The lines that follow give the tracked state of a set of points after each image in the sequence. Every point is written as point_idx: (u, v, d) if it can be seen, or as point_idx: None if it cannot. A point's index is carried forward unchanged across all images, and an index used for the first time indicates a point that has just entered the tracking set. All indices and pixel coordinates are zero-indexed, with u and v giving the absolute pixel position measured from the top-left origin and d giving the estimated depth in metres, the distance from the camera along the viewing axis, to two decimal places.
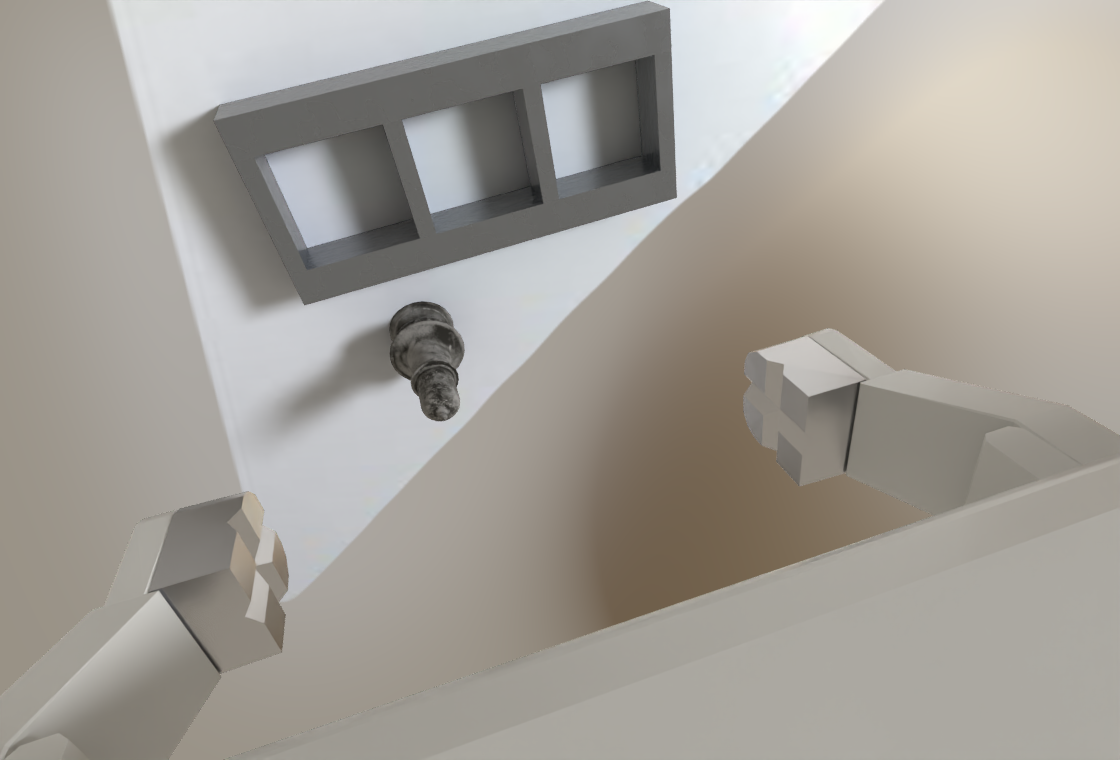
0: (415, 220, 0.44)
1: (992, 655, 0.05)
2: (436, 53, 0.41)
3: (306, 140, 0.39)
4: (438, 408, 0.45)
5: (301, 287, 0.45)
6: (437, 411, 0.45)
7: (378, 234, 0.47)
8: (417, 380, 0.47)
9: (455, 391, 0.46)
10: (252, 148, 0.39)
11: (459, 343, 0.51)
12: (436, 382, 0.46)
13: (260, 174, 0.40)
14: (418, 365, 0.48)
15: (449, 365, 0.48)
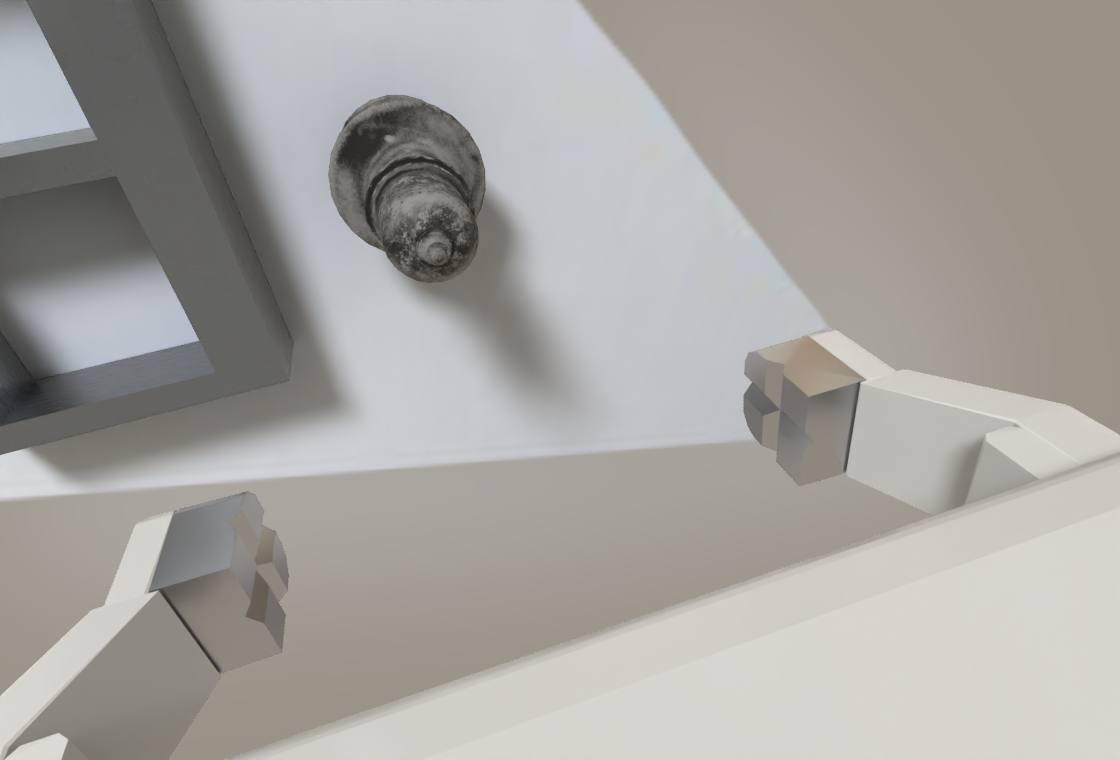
0: (70, 182, 0.21)
1: (992, 655, 0.05)
2: None
3: None
4: (423, 258, 0.19)
5: (252, 382, 0.27)
6: None
7: None
8: None
9: (401, 198, 0.19)
10: None
11: (391, 112, 0.23)
12: None
13: (31, 420, 0.25)
14: None
15: (379, 175, 0.21)
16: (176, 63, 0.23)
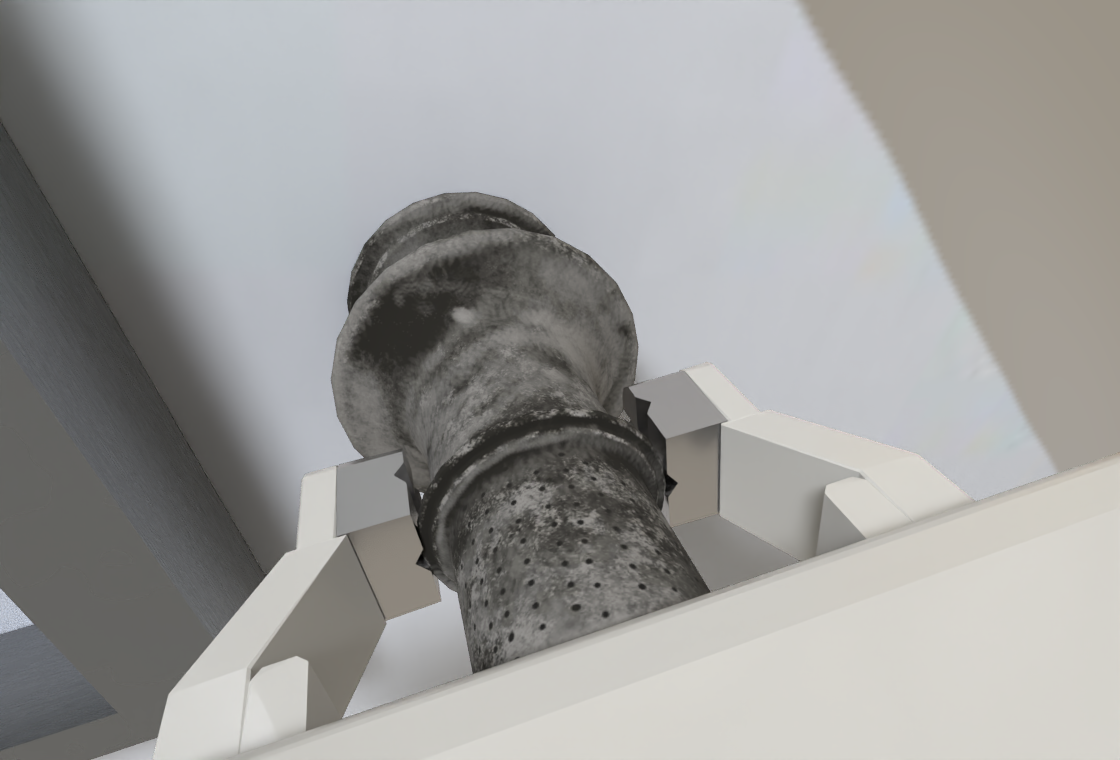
0: None
1: (992, 655, 0.05)
2: None
3: None
4: None
5: None
6: None
7: None
8: None
9: (545, 625, 0.06)
10: None
11: (465, 257, 0.11)
12: (472, 663, 0.07)
13: None
14: None
15: (457, 463, 0.08)
16: (13, 146, 0.11)
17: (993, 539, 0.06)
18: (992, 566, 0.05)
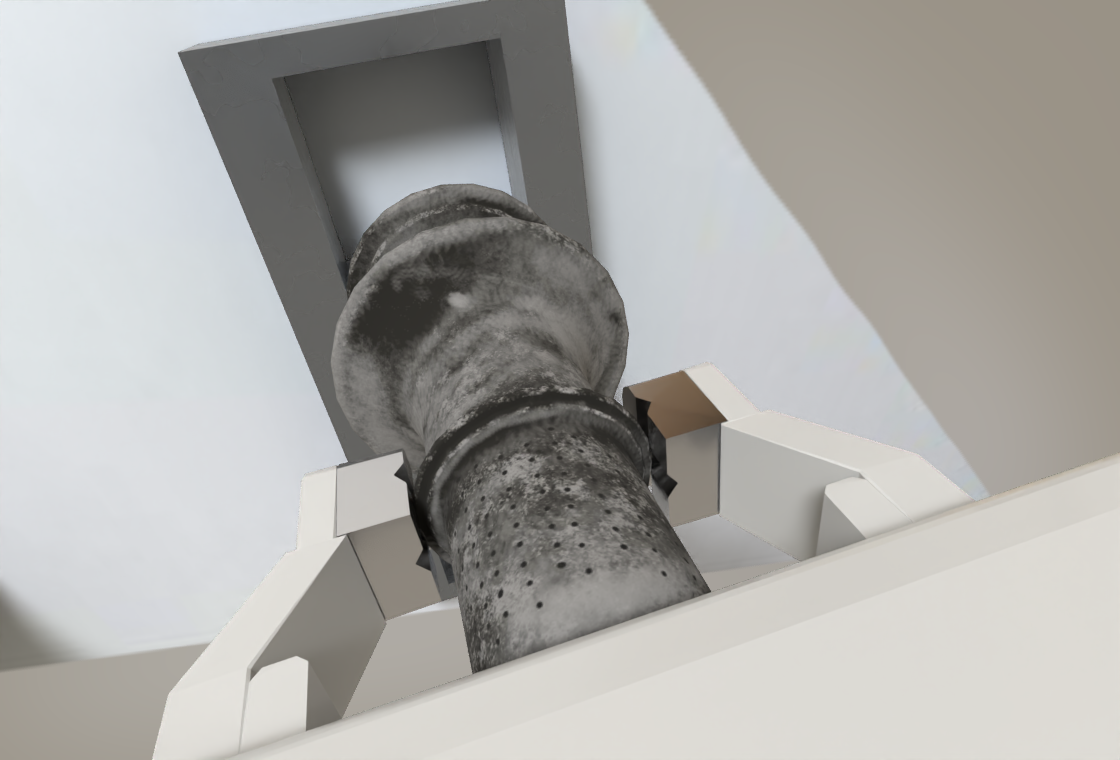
0: None
1: (992, 655, 0.05)
2: None
3: None
4: None
5: None
6: None
7: None
8: None
9: (532, 582, 0.07)
10: (439, 585, 0.36)
11: (461, 244, 0.11)
12: (464, 623, 0.08)
13: None
14: None
15: (451, 437, 0.09)
16: None
17: (993, 539, 0.06)
18: (992, 566, 0.05)
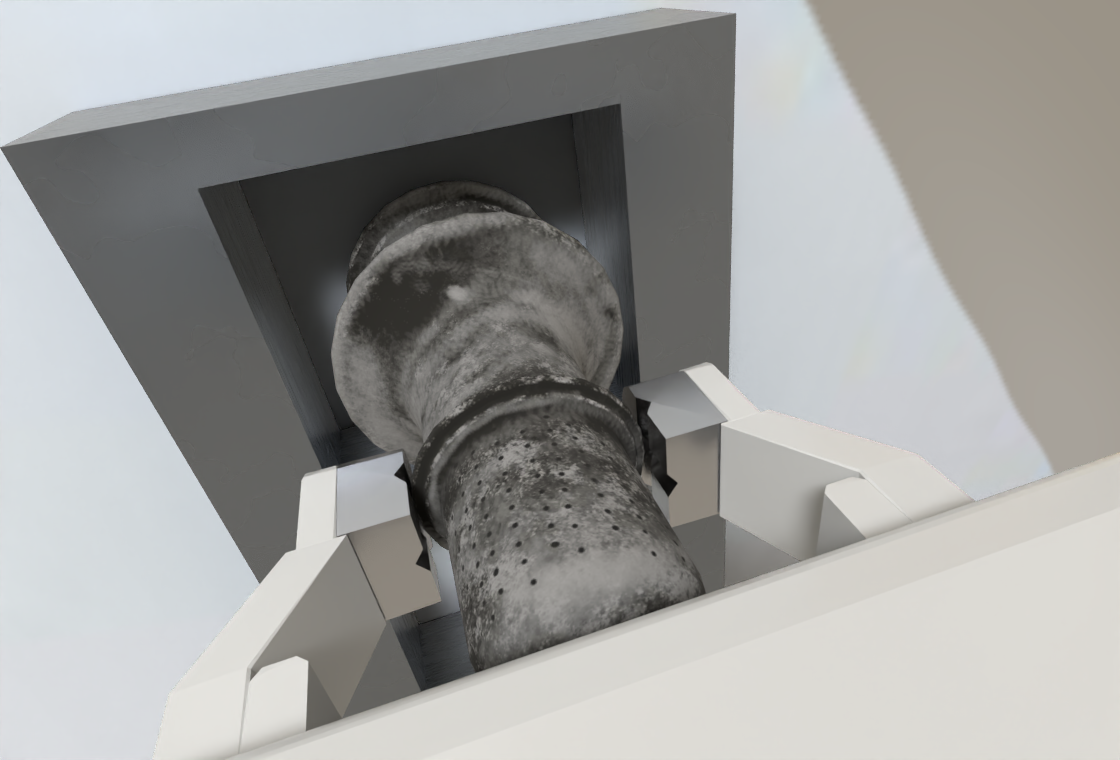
0: None
1: (992, 655, 0.05)
2: None
3: None
4: None
5: None
6: None
7: None
8: None
9: (527, 560, 0.07)
10: None
11: (461, 238, 0.11)
12: (460, 603, 0.08)
13: None
14: None
15: (449, 424, 0.09)
16: None
17: (993, 539, 0.06)
18: (992, 566, 0.05)
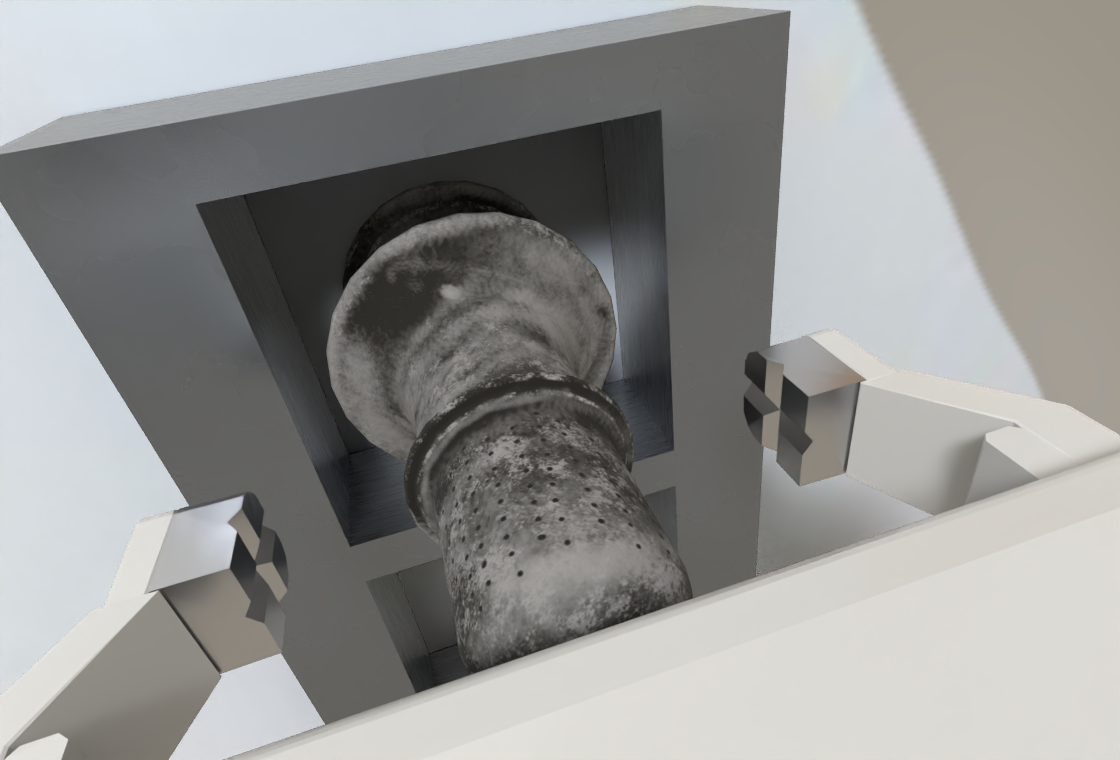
0: None
1: (992, 655, 0.05)
2: None
3: None
4: None
5: None
6: None
7: None
8: None
9: (514, 552, 0.07)
10: None
11: (454, 238, 0.12)
12: (450, 595, 0.08)
13: None
14: None
15: (441, 420, 0.09)
16: None
17: (993, 539, 0.06)
18: (992, 566, 0.05)
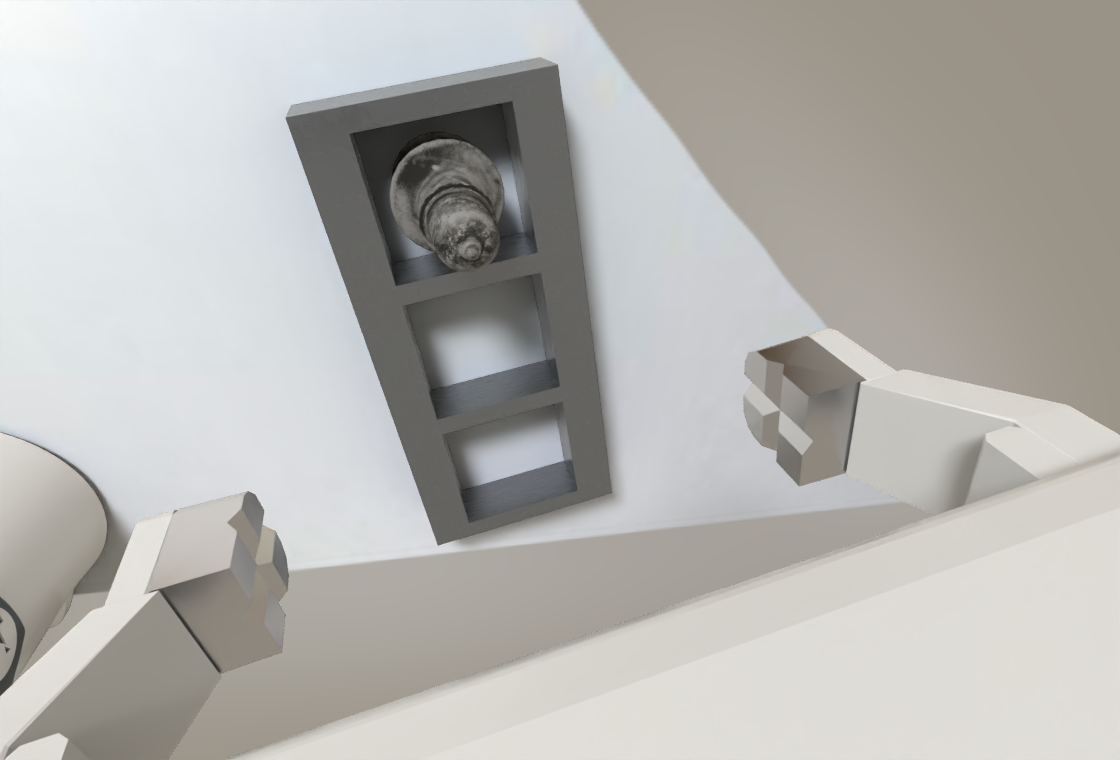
0: (542, 405, 0.41)
1: (992, 655, 0.05)
2: None
3: (455, 489, 0.43)
4: (461, 255, 0.27)
5: (593, 494, 0.47)
6: None
7: (558, 413, 0.45)
8: None
9: (447, 214, 0.27)
10: (461, 523, 0.45)
11: (437, 148, 0.32)
12: (432, 237, 0.28)
13: (484, 519, 0.45)
14: None
15: (430, 196, 0.29)
16: None
17: (993, 539, 0.06)
18: (992, 566, 0.05)
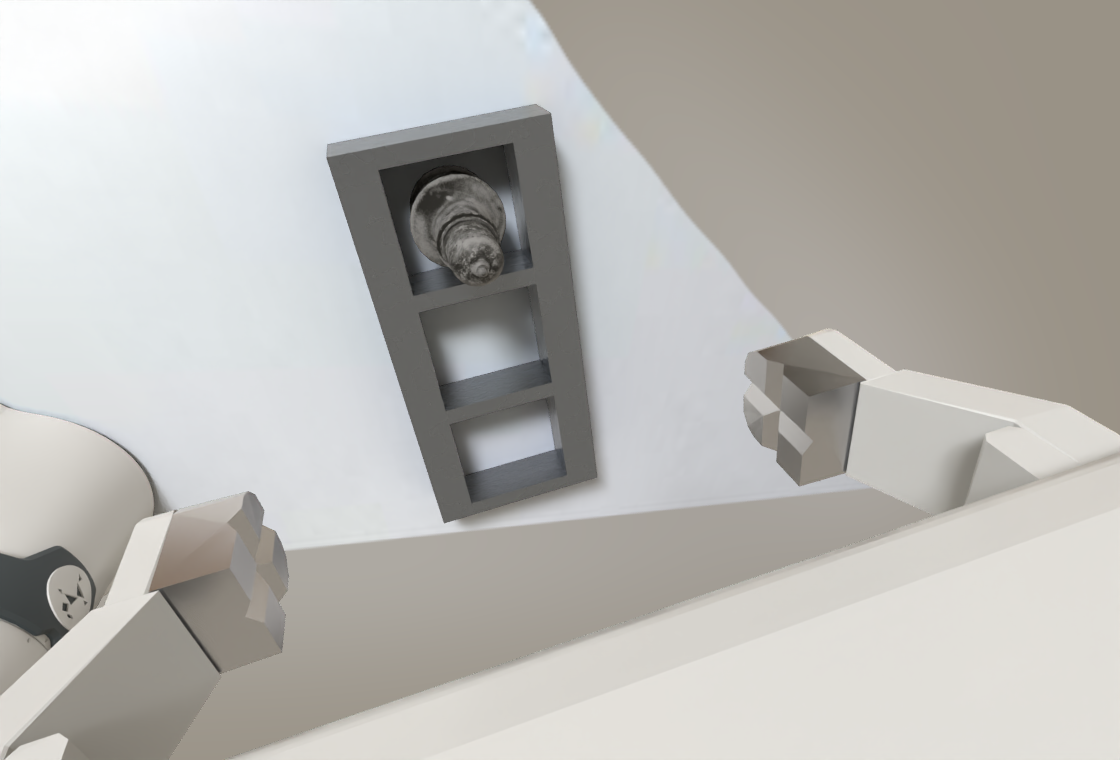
0: (536, 399, 0.48)
1: (992, 655, 0.05)
2: None
3: (460, 473, 0.49)
4: (473, 273, 0.33)
5: (581, 478, 0.53)
6: None
7: (550, 407, 0.52)
8: None
9: (462, 239, 0.33)
10: (464, 503, 0.51)
11: (450, 181, 0.38)
12: (448, 257, 0.34)
13: (484, 500, 0.51)
14: None
15: (446, 223, 0.35)
16: None
17: (993, 539, 0.06)
18: (992, 566, 0.05)
